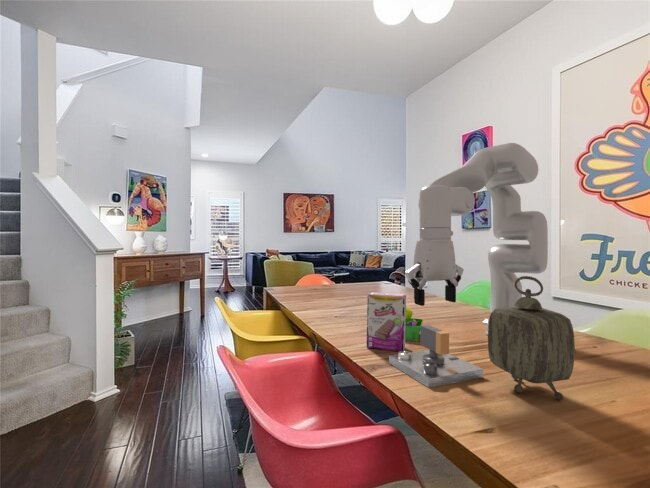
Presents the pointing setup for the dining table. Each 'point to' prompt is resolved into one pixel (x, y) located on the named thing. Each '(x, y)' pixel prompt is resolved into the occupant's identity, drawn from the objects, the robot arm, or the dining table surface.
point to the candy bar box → (386, 321)
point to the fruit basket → (412, 326)
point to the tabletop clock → (531, 341)
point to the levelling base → (441, 369)
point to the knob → (434, 343)
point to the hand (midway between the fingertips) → (435, 303)
